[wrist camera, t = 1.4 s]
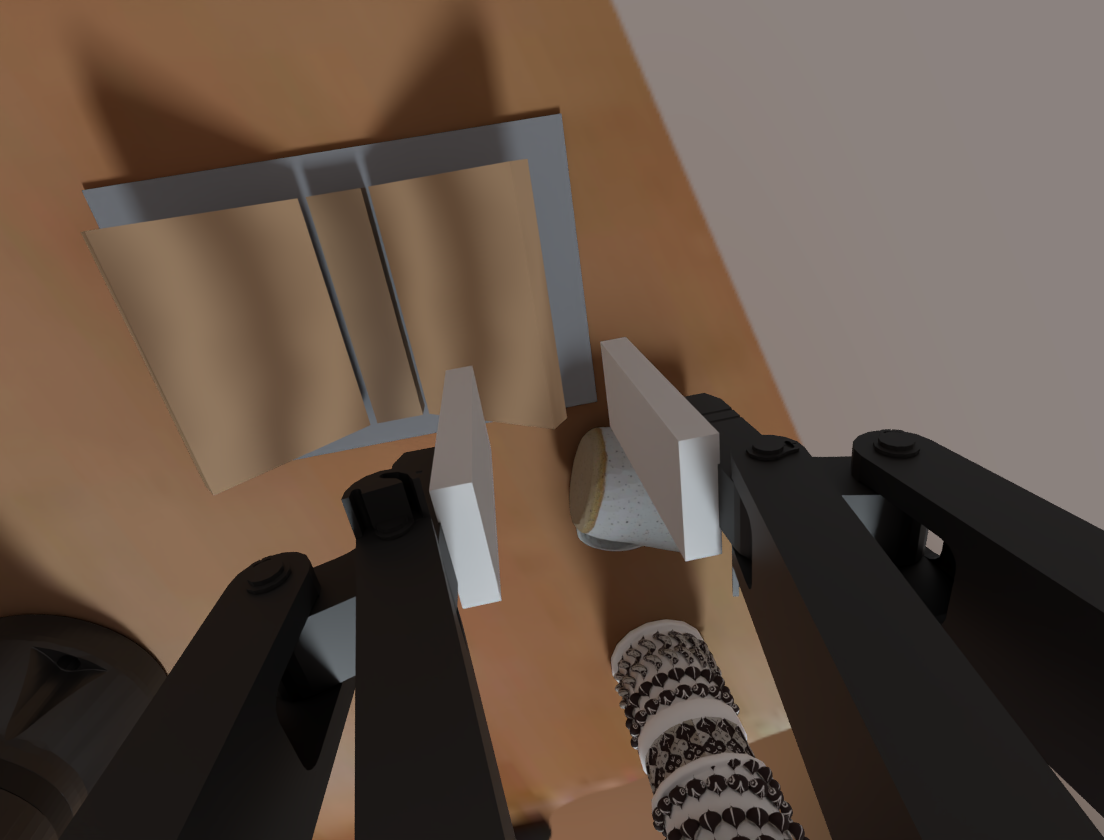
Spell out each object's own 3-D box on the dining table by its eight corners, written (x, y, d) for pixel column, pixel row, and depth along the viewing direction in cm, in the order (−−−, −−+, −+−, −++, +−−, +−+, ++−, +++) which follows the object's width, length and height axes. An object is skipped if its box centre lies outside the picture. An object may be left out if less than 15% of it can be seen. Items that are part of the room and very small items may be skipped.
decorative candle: (586, 681, 47) (691, 1143, 25) (640, 603, 44) (814, 1043, 22) (672, 704, 50) (837, 1140, 27) (728, 632, 47) (964, 1050, 25)
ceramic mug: (580, 405, 37) (605, 460, 30) (692, 420, 38) (740, 475, 31) (550, 533, 41) (566, 608, 34) (653, 542, 42) (687, 615, 35)
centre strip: (381, 413, 35) (377, 423, 33) (313, 196, 29) (305, 196, 28) (424, 405, 35) (422, 414, 33) (365, 187, 29) (360, 187, 28)
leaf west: (206, 487, 29) (213, 495, 28) (80, 232, 23) (84, 231, 22) (360, 420, 34) (370, 424, 33) (287, 200, 29) (297, 198, 28)
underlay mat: (219, 472, 35) (216, 474, 35) (85, 190, 28) (81, 190, 28) (596, 399, 37) (597, 401, 36) (560, 113, 29) (561, 113, 29)
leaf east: (444, 404, 35) (429, 413, 33) (387, 183, 29) (367, 186, 28) (567, 417, 30) (554, 429, 29) (527, 158, 24) (510, 161, 23)
